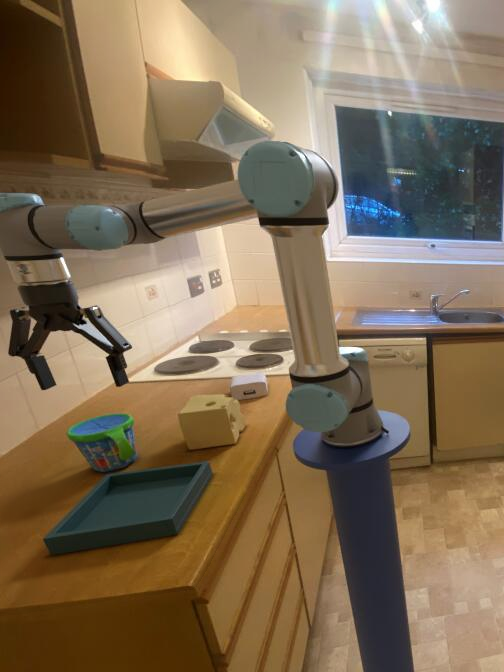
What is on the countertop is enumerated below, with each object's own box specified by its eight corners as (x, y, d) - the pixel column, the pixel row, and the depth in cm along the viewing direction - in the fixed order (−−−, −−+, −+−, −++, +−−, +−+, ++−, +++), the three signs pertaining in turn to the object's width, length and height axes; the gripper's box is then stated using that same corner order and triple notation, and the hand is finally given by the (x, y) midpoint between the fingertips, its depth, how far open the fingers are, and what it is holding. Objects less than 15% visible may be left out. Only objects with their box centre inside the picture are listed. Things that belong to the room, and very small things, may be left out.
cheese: (246, 425, 114) (237, 390, 110) (236, 445, 104) (226, 408, 100) (201, 431, 111) (190, 395, 107) (186, 452, 101) (173, 414, 97)
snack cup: (73, 464, 96) (55, 423, 92) (131, 444, 104) (116, 406, 101) (98, 487, 88) (80, 444, 85) (159, 463, 97) (144, 423, 93)
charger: (267, 379, 144) (268, 395, 132) (235, 383, 140) (233, 401, 128) (264, 365, 142) (265, 380, 130) (231, 370, 138) (229, 386, 126)
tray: (213, 474, 93) (209, 460, 92) (177, 534, 76) (171, 518, 75) (112, 488, 88) (106, 474, 87) (51, 555, 71) (42, 539, 70)
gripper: (-54, 286, 76) (0, 396, 84) (104, 284, 80) (141, 390, 88) (-13, 280, 83) (33, 382, 91) (131, 278, 87) (163, 376, 95)
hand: (86, 386), depth 90 cm, fingers open, 13 cm apart
